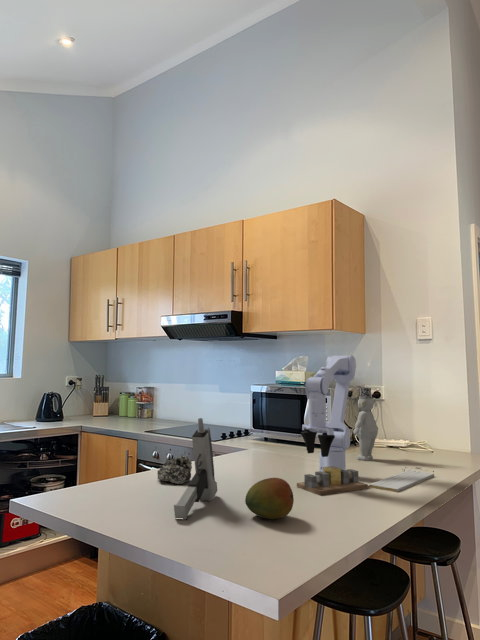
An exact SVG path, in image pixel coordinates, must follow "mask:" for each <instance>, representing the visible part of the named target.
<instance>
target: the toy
mask: <svg viewBox="0 0 480 640" xmlns="http://www.w3.org/2000/svg"><path fill="white" fill-rule="evenodd" d="M374 405H375V399H374V398H373V396H372V388H371V387H359V396H358V400H357V407H358V409H360V410H361V411H359V412H358V414H357V415H358V416H357V419H356V422H355V425H354V429H353V434H354V436H355V435H356V436H357V438H358V439H359V441H358V443H359V452H360V454H358V455H357V456H356V459H357V460H358V461H363V462H366V461H369V460H373V458H374V457H373V455H372V453H373V452H372V451H373V449H374V446H375V443H376V442H375V441H376V438H377V436H378V434H379V433H378V432H379V427H378V425H377V422H376V420H375V416H374V414H373V412H372V411H371V410H372V409H374Z"/></svg>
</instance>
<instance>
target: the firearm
mask: <svg viewBox="0 0 480 640" xmlns="http://www.w3.org/2000/svg"><path fill="white" fill-rule="evenodd" d="M197 423H198V424H197V425H198V426H197V427H198V428H197V430H195V431H194V432H193V433H192V435H191V440H192V450H193V451H192V452H193V459H194V469H195V470H194V471H195V473H194V475H193V476H192V478H191V479H190V480H189V483H188V484H187V487H186V489H185V491H183V494H182V496H181V497H180V499H179V500H178V501H177V503H176V504H174V505H173V511H174V518H183V519H188V517H187V516H188V515H189V512H191V509H192V508H193V506H194V504H195V503H199V502H200V501H204V500H212V501H213V500H214V499H215V496H216V494H217V493H218V482H216V479H215V466H214V465H215V464H214V454H213V447H212V445H213V443H212V437H211V435H212V434H211V429H210V427H207V428H205V427H204V418H202V417H199V418H198V419H197Z"/></svg>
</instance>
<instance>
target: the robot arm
mask: <svg viewBox="0 0 480 640" xmlns="http://www.w3.org/2000/svg"><path fill="white" fill-rule="evenodd" d="M356 370H357V362H356V358H355V356H354V355H353V354H350V355H328V357H327V359H326V366H321V367H320V368H319V370H318V371H317V372H316V373H315V374H314V375H313V376H310V377H309V378H307V379H306V381H305V384H304V388H305V392H306V398H307V400H308V424H302V425H301V430H302V431H301V432H300V435H301V437H302V439H303V442H304V444H305V447H306V451H307V454H313V453H315V444H316V438H318V440H319V445H320V452H319V454H318V457H319V459H318V460H319V461H318V463H319V464H318V465H319V466H318V467H319V470H318V471H321V472H323V467H328V466H334V467H338V468H341V469H342V470H347V469H346V467H347V466H346V451H347V450H349V447H350V445H351V431H350V428H349V427H348V425H346V424H345V417H346V412H347V411H346V410H347V403H348V396H349V389H350V383H351V381H353V380H354V379H355V376H356ZM333 380H334V381H335V382H336V383H335V388H334V395H333V401H332V408H331V413H330V420H329V421H327V413H326V412H327V409H326V408H327V405H326V403H327V402H326V397H327V396H326V395H327V394H328V392H329V388H330V384H331V383H332V381H333Z"/></svg>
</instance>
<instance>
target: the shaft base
mask: <svg viewBox="0 0 480 640" xmlns="http://www.w3.org/2000/svg"><path fill="white" fill-rule="evenodd" d="M303 478H304V479H303V480H304V481H302V482H297V483H296V487H297V488H298V489H301V490H305V491H307V492H310V493H312V494H315V495H318V496H325V495H326V496H327V495H332V494H338V493H345V492H346V493H347V492H350V491H351V492H352V491H357V490H358V491H359V490H360V491H361V490H365V489H369V487H368V485H369V484H367V483H364V482H360V481H359V470H356V469H354V468H353V469H351V468H350V469H349V468H348V469H346V470H342V469H341V484H340V485H333V486H331V485H329V474H328V473H325V472H321V471H319V470H317V471H315V472H314V474H311V473H307V474H304V477H303Z"/></svg>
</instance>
